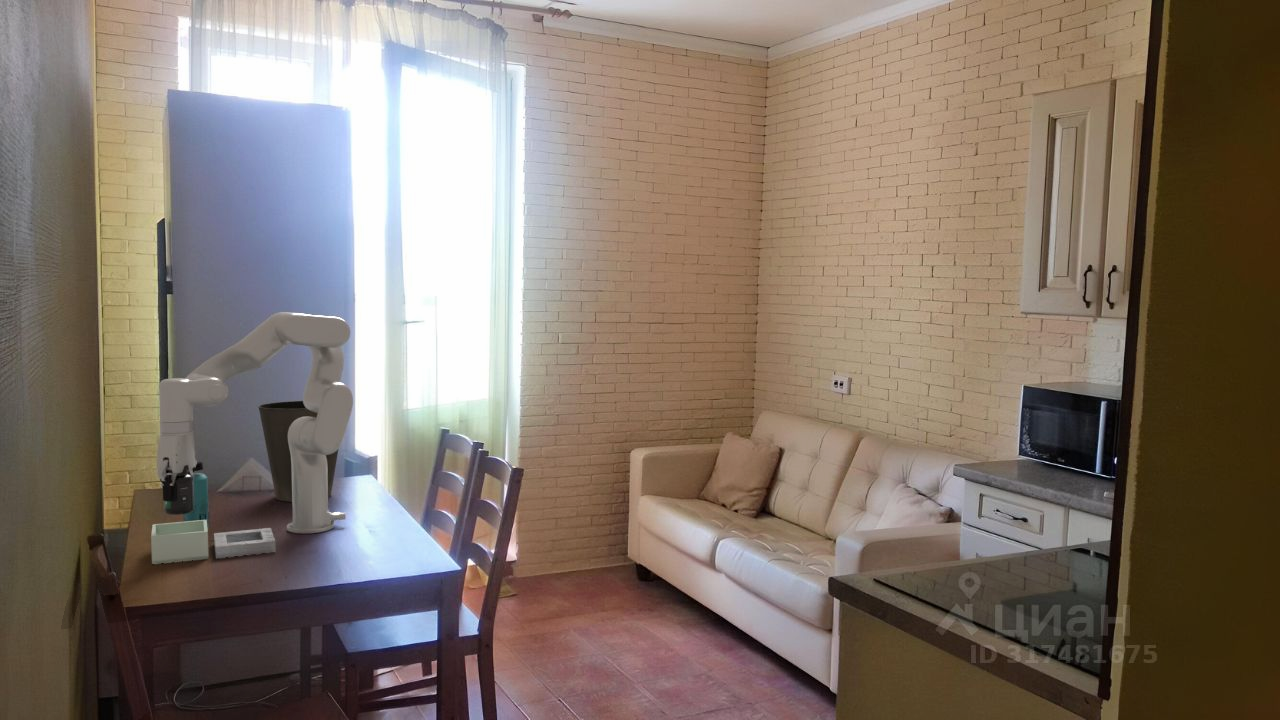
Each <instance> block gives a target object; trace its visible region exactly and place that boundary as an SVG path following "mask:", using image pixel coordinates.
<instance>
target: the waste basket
mask: <svg viewBox="0 0 1280 720" xmlns="http://www.w3.org/2000/svg"><path fill="white" fill-rule="evenodd" d="M257 408H258V410H259V416H260V422H261V425H262V431H263V437H264V443H265V447H266V453H267V459H268V463H269V468H270V469H269V470H270V475H271V480H272V483H273V484H272V485H273V490H274V495H275V499H276V500H279V501H280V502H281V501H282V502H289V503H292V465H291V454H290V448H289V443H288V430H289V427H290V425H291V424H292V423H293V422H294V421H295V420H296V419H298V418H301V417H315V418H317V414H318V413H315V412H312V411H310V410H308V409H307V408H306V407H305V406H304V403H303V400H292V401H291V400H290V401H289V400H288V401H277V402H268V403H263V404H259V405H258V406H257ZM339 449H340V447H339V448H338V450H337V451H335V452H334V453H332V454H329V455H326V459H327V468H328V473H327V479H328V498H329V497H331V495H332V490H333V484H334V479H335V478H334V477H335V472H336V468H337V467H336V466H337V461H338V460H337V459H338V454H339Z"/></svg>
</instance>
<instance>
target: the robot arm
mask: <svg viewBox="0 0 1280 720" xmlns="http://www.w3.org/2000/svg"><path fill="white" fill-rule="evenodd" d="M350 337H351V327H350V325H349V324H348V322H347V321H346V320H345V319H343V318H341V317H337V316H330V315H329V316H327V315H326V316H325V315H314V314H313V315H312V314H306V313H300V312H289V311H288V312H286V311H285V312H284V311H280V312H276V313H273V314H272V315H270V316H269V317H267V318H266V320H264V321H263V322H261V323H260V324H259V325H258V326H257V327H255V328H254V329H253V330H252V331H251V332H249V334H247V335H246V336H244V338H242V339H241V340H239V341H238V342H237V343H235V344H233V345H231V346H230V347H228V348H226V349H224V350H222V351H220V352H219V353H217V354H215V355H213V356H212V357H209V358H208V359H207V360H206V361H204V362H202V363H201V364H200V365H199V366H198V367H196V368H195V369H194V370H193V371H191V372H190V373H189V374H188V375H187V376H186V377H185V378H183V377H176V378H175V377H174V378H165V379H162V380H161V381H160V382H159V385H158V386H159V387H158V389H159V390H158V391H159V393H158V395H159V428H160V430H159V431H160V433H159V434H160V435H159V436H158V437H159V438H158V443H157V452H156V453H157V457H156V471H157V472H156V475H157V477H158V478H159V481H160V483H161V486H162V501H163V502H164V501H171V502H175V501H176V500H177V494H176V485H174V484H175V480H176V476H177V474H180V473H181V472H183V469H184V466H186V465H189V472H188V474H190V475H191V476H192V477H193V478H194V473H195V472H196V471H195V467H196V464H197V461H198V460H197V459H196V446H195V438H194V407H195V406H196V407H215V406H219V405H221V404H222V403H224V402H225V401H226V399H227V397H228V396H229V387H228V385H227V384H226V381H228V380H229V379H231V378H234V377H235V376H236V377H237V375H241V374H245V373H248V372H252V371H254V370H257V369H259V368H261V367H263V366H264V365H265V364H266V363H267V362H268V361H270V359H272V358H273V357H275V355H276V354H278V353H279V352H280V351H281V350H283V349H284V348H285V347H286V346H288V345H296V346H297V345H298V346H304V347H306V346H307V347H310V351H311V353H312V354H311V355H312V361H311V362H312V363H311V367H310V371H309V375H308V378H307V382H306V385H305V388H304V391H303V396H302V401H303V403H304V406H305V407H306V408H307V409H308V410H310V411H312V412H315V413H318V414H317V418H315V417H301V418H298V419H296V420H295V421H294V422H293V423H292V424H291V425H290V427H289V430H288V443H289V448H290V454H291V465H292V502H291V503H292V504H291V505H292V508H291V509H292V510H291V512H292V522H289V523H288V524H287V525H286V530H287V531H288V532H290V533H295V534H303V535H304V534H315V533H323V532H327V531H329V530H332V529H333V528H334V527H335V521H338V520H339V521H341V520H346V517H347V516H346V512H340V511H337V512H336V511H335V512H330V509H329V497H328V479H327V473H328V468H327V459H326V455H329V454H332V453H334V452H335V451H337V450H338V451H339V449H340V447H341V446H342V444H343V441H344V439H345V435H346V432H347V428H348V426H349V422H350V421H349V420H350V418H351V415H352V410H353V406H354V397H353V393H352V391H351V389H350V387H349V386H348V385H346V384H345V383H343V382H341V381H342V380H341V378H342V375H343V371H344V366H345V359H344V358H345V357H344V352H343V350H342V346H344V345H346V344H347V343H348V341H349V339H350ZM338 448H339V449H338ZM168 471H172V473H168ZM168 476H172V477H171V480H170V478H169V477H168Z"/></svg>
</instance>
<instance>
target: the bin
mask: <svg viewBox="0 0 1280 720" xmlns="http://www.w3.org/2000/svg"><path fill="white" fill-rule="evenodd" d="M151 527H152V528H151V536H150V541H151V542H150V543H151V545H150V546H151V565H152V564H155V565H162V564H161V563H164V564H170V563H171V564H173V563H172V562H174V563H182V561H183V562H191V561H192V560H193V561H201V560H209V528H208V529H207V520H197V521H186V522H184V521H175V522H166V523H155V524H152V525H151ZM193 561H192V562H193Z"/></svg>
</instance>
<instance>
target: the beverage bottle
mask: <svg viewBox="0 0 1280 720" xmlns="http://www.w3.org/2000/svg"><path fill="white" fill-rule="evenodd" d="M203 465H204V464H203V462H202V461H198V460H197V464H196V467H195V471H194V478H193V483H194V510H193V511H192V512H190V513H187V514H183V518H182V519H183V522H186V521H197V520H207V529H208V530H209V528H210V525H211V524H210V507H209V492H210V491H209V485H208V484H209V482H208V479H209V478H208V476H207V475H206V474H205V473H202V472H198V471H203V470H204V466H203Z"/></svg>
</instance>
